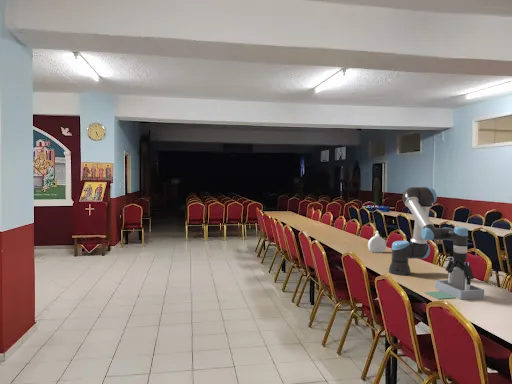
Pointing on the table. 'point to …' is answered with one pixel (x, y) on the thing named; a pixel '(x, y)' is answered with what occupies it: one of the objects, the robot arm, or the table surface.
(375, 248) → the soap bottle
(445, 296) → the pad
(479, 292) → the parts bin
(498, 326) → the table surface
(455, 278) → the skincare box
